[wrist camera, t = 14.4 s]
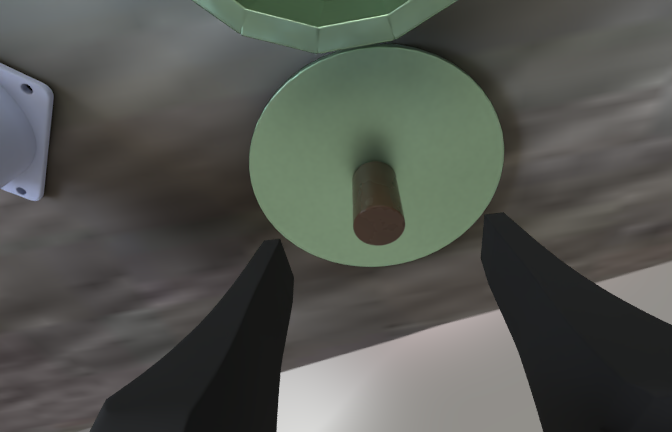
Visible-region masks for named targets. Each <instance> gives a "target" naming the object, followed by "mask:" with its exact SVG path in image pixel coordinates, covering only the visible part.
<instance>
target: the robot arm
mask: <svg viewBox="0 0 672 432" xmlns="http://www.w3.org/2000/svg"><path fill="white" fill-rule="evenodd" d="M27 85H29V86H30V87H31V88H32V90H33V91H31V90H30V89H29V88H28V87H27ZM53 100H54V95H53V92H52V90H51V89H50V88H49V87H48V86H47V85H46V84H44V83H42V82H40V81H38V80H36V79H34V78H32V77H29V76H27V75H25V74H23V73H21V72H19V71H17V70H15V69H12V68H10V67H8V66H6V65H4V64H2V63H0V189H3V190H5V191H8V192H11V193H13V194H16V195H18V196H21V197H24V198H26V199H29V200H32V201H38V200H40V199H41V198H42V197H43V195H44V188H45V178H46V168H47V158H48V149H49V139H50V129H51V119H52V109H53ZM481 260H482V264H483V267H484V271H485V274H486V277H487V280H488V284H489V286H490V288H491V291H492V293H493V295H494V297H495V300H496V302H497V304H498V306H499V309H500V311H501V313H502V315H503V317H504V320H505V322H506V324H507V326H508V329H509V331H510V333H511V335H512V337H513V340H514V342H515V345H516V347H517V350H518V352H519V355H520V358H521V361H522V364H523V367H524V370H525V373H526V376H527V379H528V382H529V386H530V389H531V392H532V395H533V398H534V402H535V405H536V408H537V411H538V415H539V418H540V422H541V425H542V429H543V432H672V325H671V324H668V323H666V322H664V321H662V320H660V319H658V318H656V317H654V316H652V315H650V314H648V313H646V312H644V311H642V310H640V309H638V308H637V307H635V306H633V305H631V304H629V303H627V302H625V301H623V300H622V299H620V298H618V297H616V296H615V295H613V294H611V293H609V292H608V291H606V290H604V289H602V288H601V287H599V286H598V285H596V284H595V283H593V282H592V281H590V280H588V279H587V278H585V277H584V276H582V275H581V274H579V273H578V272H576V271H575V270H574V269H572V268H571V267H569V266H568V265H567V264H565V263H564V262H562V261H561V260H560V259H558V258H557V257H556V256H555V255H553V254H552V253H551V252H550V251H548V250H547V249H546V248H545V247H543V246H542V245H541V244H540V243H538V242H537V241H536V240H535V239H534V238H532V237H531V236H530V235H529V234H528V233H527V232H525V231H524V230H523V229H522V228H521V227H520V226H518V225H517V224H516V223H515V222H514V221H513V220H512V219H511V218H509V217H508V216H507V215H506V214H505V213H495V214H486V215H485V216H484V227H483V238H482V249H481ZM293 286H294V276H293V273H292V271H291V268H290V265H289V262H288V259H287V257H286V254H285V251H284V248H283V246H282V243H281V240H280V239H275V240H267V241H264V242H263V243H262V244H261V246H260V247H259V249H258V250H257V251H256V253H255V254H254V256H253V257H252V259H251V260H250V262H249V263H248V264H247V266H246V267H245V269H244V270H243V272H242V273H241V274H240V276H239V277H238V278H237V280H236V281H235V282H234V284H233V285H232V286H231V288H230V289H229V290H228V292H227V293H226V294H225V295H224V296H223V298H222V299H221V300H220V301H219V303H218V304H217V305H216V306H215V307H214V309H213V310H212V311H211V312H210V313H209V314H208V315H207V316H206V317H205V318H204V320H203V321H202V322H201V323H200V324H199V325H198V326H197V327H196V328H195V329H194V330H193V331H192V332H191V333H190V334H188V335H187V336H186V337H185V338H184V339H183V340H182V341H181V342H180V343H179V344H178V345H177V346H176V347H174V348H173V349H172V350H171V351H170V352H169V353H168V354H166V355H165V356H164V357H163V358H162V359H160V360H159V361H158V362H157V363H155V364H154V365H153V366H152V367H150V368H149V369H148V370H147V371H145V372H144V373H143V374H141V375H140V376H139V377H137V378H136V379H135V380H133V381H132V382H130V383H129V384H128V385H126V386H125V387H123V388H122V389H121V390H119V391H118V392H116V393H115V394H114V395H112V396H111V397H109V398H108V399H106V401H105V403H104V404H103V406H102V408H101V410H100V412H99V414H98V416H97V418H96V420H95V422H94V424H93V426H92V428H91V430H90V432H276V430H277V412H278V396H279V383H280V372H281V364H282V357H283V352H284V346H285V341H286V336H287V330H288V325H289V320H290V314H291V308H292V303H293Z"/></svg>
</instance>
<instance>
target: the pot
mask: <svg viewBox="0 0 672 432" xmlns="http://www.w3.org/2000/svg"><path fill="white" fill-rule="evenodd" d="M192 1H193V2H195V3H196V4H198V5H199V6H200V7H202V8H203V9H205V10H206V11H208V12H209V13H210V14H212V15H213V16H215V17H216V18H218V19H219V20H220V21H222V22H223V23H225V24H226V25H228V26H229V27H230V28H232V29H233V30H235V31H236V32H238V33H240V34H241V35H242V36H246V37H250V38H254V39H258V40H262V41H267V42H271V43H275V44H279V45H283V46H287V47H291V48H295V49H299V50H303V51H307V52H311V53H316V54H317V53H326V52H331V51H337V50H343V49H348V48H354V47H360V46H365V45H371V44H377V43H382V42H388V41H393V40H394V39H398V38H399V37H401V36H403V35H404V34H406V33H407V32H409V31H410V30H412V29H414V28H415V27H417V26H418V25H420V24H421V23H423V22H425V21H426V20H428V19H429V18H431V17H432V16H434V15H436V14H437V13H439V12H440V11H442V10H444V9H445V8H447V7H448V6H450V5H451V4H453V3H455V2H456V1H458V0H192Z"/></svg>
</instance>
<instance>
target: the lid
mask: <svg viewBox="0 0 672 432" xmlns="http://www.w3.org/2000/svg"><path fill="white" fill-rule="evenodd" d="M503 163H504V140H503V132H502V129H501V125H500V122H499V118H498V116H497V113H496V111H495V109H494V107H493V105H492V103H491V101H490V100H489V99H488V97H487V96H486V94H485V93H484V92H483V90H482V89H481V87H480V86H479V85H478V84H477V83H476V82H475V81H474V80H473V79H472V78H471V77H470V76H469V75H468V74H467V73H466V72H464V71H463V70H461V69H460V68H459V67H457V66H456V65H455V64H453V63H452V62H450V61H448V60H446V59H444V58H442V57H440V56H438V55H436V54H433V53H430V52H427V51H424V50H421V49H418V48H414V47H408V46H403V45H396V44H371V45H365V46H360V47H354V48H348V49H343V50H339V51H336V52H334V53H331V54H329V55H326V56H324V57H321V58H319V59H317V60H315V61H314V62H312V63H310V64H308V65H307V66H305V67H303V68H302V69H300V70H299V71H298V72H297V73H295V74H294V75H293V76H291V77H290V78H289V79H288V80H287V81H286V82H285V83H284V84H283V85H282V86H281V87H280V88H279V89H278V90H277V91H276V92H275V93H274V95H273V96H272V98H271V99H270V100H269V102H268V103H267V105H266V106H265V108H264V110H263V112H262V114H261V116H260V118H259V120H258V122H257V124H256V127H255V130H254V133H253V136H252V140H251V146H250V152H249V171H250V179H251V184H252V187H253V191H254V194H255V197H256V199H257V201H258V203H259V205H260V208H261V209H262V211H263V212H264V214H265V216H266V217H267V219H268V220H269V221H270V222H271V224H272V225H273V226H274V227H275V228H276V229H277V230H278V231H279V232H280V233H281V234H282V235H283V236H284V237H285V238H286V239H288V240H289V241H290V242H292V243H293V244H294V245H296V246H298V247H299V248H301V249H303V250H304V251H306V252H308V253H310V254H312V255H315V256H317V257H319V258H322V259H325V260H328V261H331V262H335V263H340V264H344V265H351V266H361V267H378V266H389V265H396V264H401V263H405V262H409V261H413V260H416V259H419V258H422V257H425V256H427V255H429V254H431V253H433V252H436V251H438V250H440V249H441V248H443V247H445V246H446V245H448V244H450V243H451V242H453V241H454V240H455V239H457V238H458V237H460V236H461V235H462V234H463V233H464V232H465V231H467V230H468V229H469V228H470V227H471V226H472V225H473V224H474V223H475V222H476V220H477V219H478V218H479V217H480V216H481V215H482V213H483V212H484V210H485V209H486V207H487V206H488V205H489V203H490V201H491V199H492V197H493V195H494V193H495V191H496V189H497V186H498V183H499V180H500V178H501V173H502V168H503Z"/></svg>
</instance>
